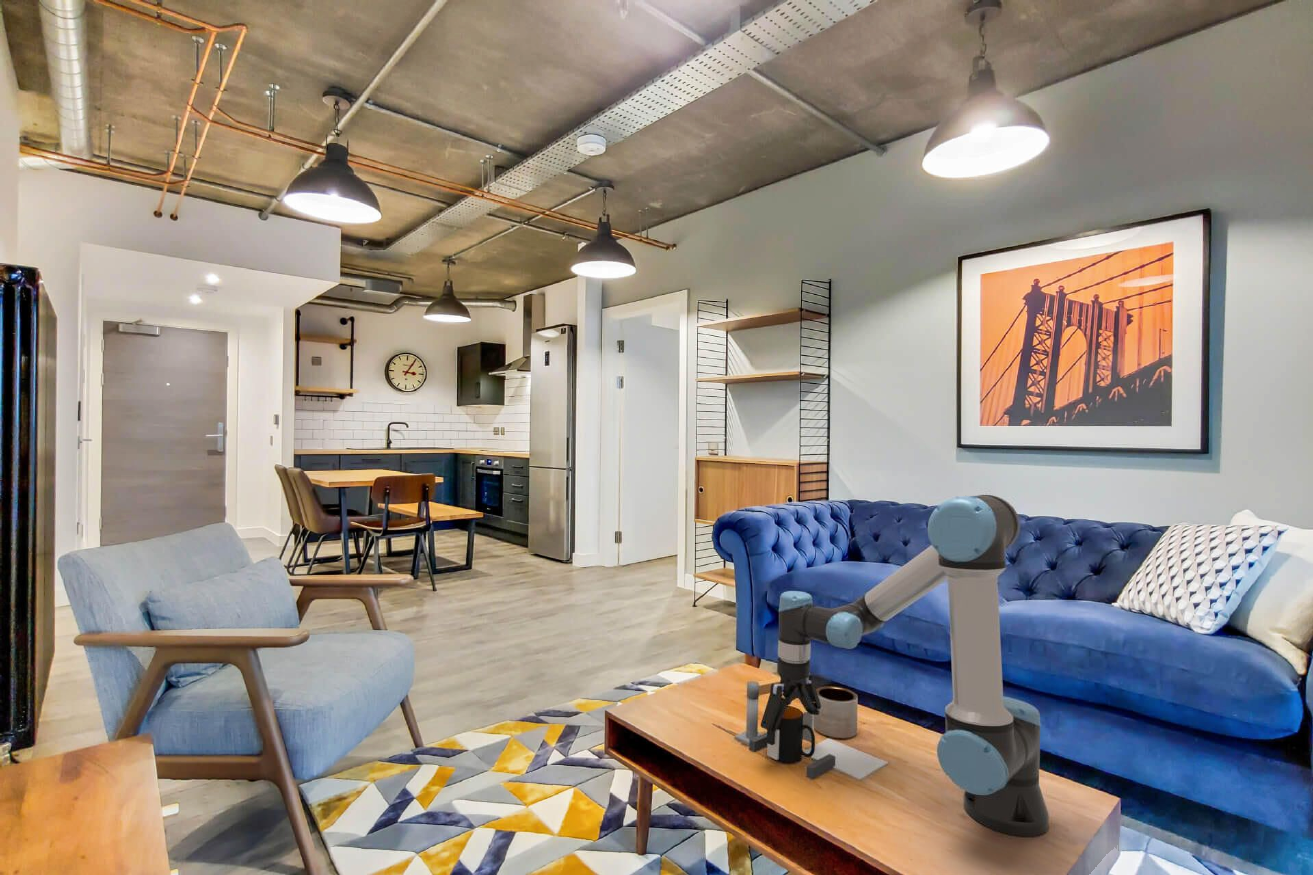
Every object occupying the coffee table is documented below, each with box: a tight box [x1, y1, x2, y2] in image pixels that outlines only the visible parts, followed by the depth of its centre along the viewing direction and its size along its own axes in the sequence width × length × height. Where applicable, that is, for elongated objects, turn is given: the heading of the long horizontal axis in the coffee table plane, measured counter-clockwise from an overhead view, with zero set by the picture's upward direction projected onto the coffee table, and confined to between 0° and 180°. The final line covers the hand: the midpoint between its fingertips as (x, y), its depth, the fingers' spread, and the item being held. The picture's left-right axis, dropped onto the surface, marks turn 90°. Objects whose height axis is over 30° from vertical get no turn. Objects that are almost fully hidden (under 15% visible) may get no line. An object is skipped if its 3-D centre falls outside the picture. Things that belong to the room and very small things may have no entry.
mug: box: [767, 705, 816, 765], centre depth 154 cm, size 8×12×10 cm
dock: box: [734, 695, 835, 780], centre depth 156 cm, size 24×9×11 cm, turn 42°
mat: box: [802, 737, 889, 781], centre depth 154 cm, size 16×12×1 cm
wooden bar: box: [746, 676, 781, 699], centre depth 166 cm, size 16×3×3 cm, turn 120°
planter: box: [814, 685, 858, 740], centre depth 170 cm, size 11×11×10 cm
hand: (790, 748), depth 154 cm, fingers open, 13 cm apart
